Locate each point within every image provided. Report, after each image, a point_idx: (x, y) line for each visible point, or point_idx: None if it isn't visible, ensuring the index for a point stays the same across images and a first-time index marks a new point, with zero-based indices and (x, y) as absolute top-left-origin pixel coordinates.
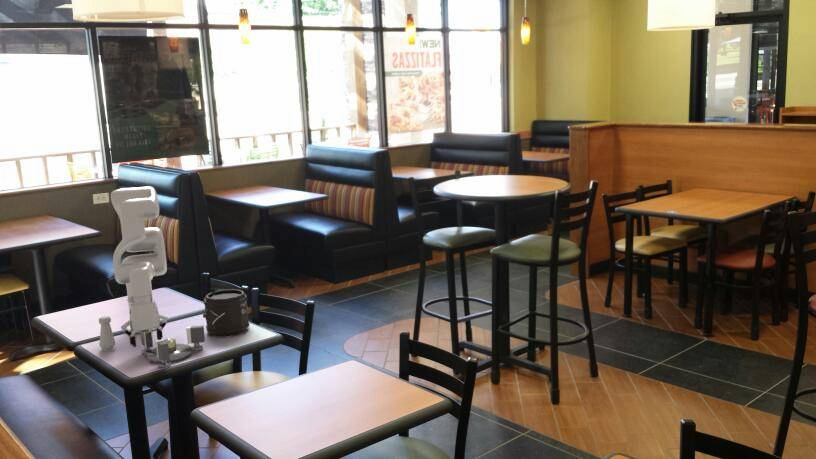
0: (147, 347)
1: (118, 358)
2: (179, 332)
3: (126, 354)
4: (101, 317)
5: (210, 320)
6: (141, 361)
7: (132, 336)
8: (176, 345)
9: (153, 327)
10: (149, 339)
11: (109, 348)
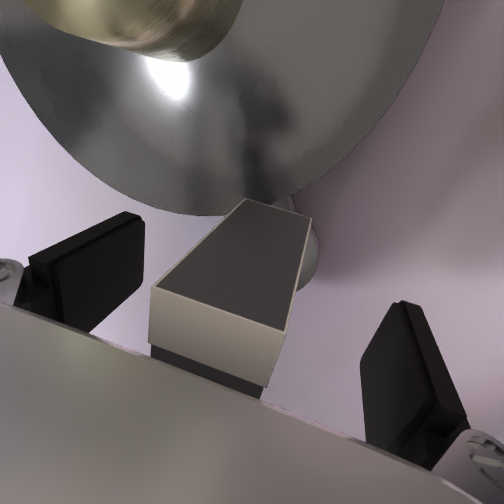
0: (299, 217)
1: (463, 350)
2: None
3: None
4: None
5: None
6: (451, 110)
7: (475, 436)
8: (64, 94)
9: (39, 319)
10: (248, 241)
11: None
